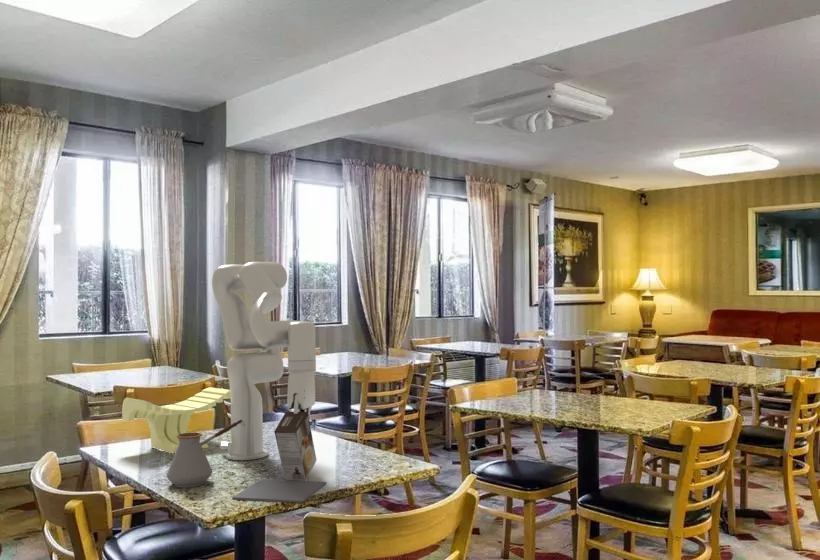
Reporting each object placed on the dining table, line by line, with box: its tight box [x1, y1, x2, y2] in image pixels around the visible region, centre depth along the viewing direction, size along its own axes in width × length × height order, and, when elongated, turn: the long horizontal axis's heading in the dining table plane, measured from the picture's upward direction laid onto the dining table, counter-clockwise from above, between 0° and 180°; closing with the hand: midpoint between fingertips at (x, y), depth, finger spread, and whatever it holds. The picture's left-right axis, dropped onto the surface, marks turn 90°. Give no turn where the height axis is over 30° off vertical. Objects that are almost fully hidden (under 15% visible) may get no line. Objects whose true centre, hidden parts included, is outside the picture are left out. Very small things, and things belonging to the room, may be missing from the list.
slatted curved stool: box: [121, 386, 231, 455], centre depth 228 cm, size 30×16×18 cm, turn 138°
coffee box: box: [273, 411, 317, 481], centre depth 183 cm, size 9×6×16 cm
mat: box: [231, 478, 327, 504], centre depth 173 cm, size 18×17×1 cm
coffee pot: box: [166, 420, 245, 488], centre depth 185 cm, size 21×12×15 cm, turn 129°
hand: (303, 433), depth 188 cm, fingers closed
